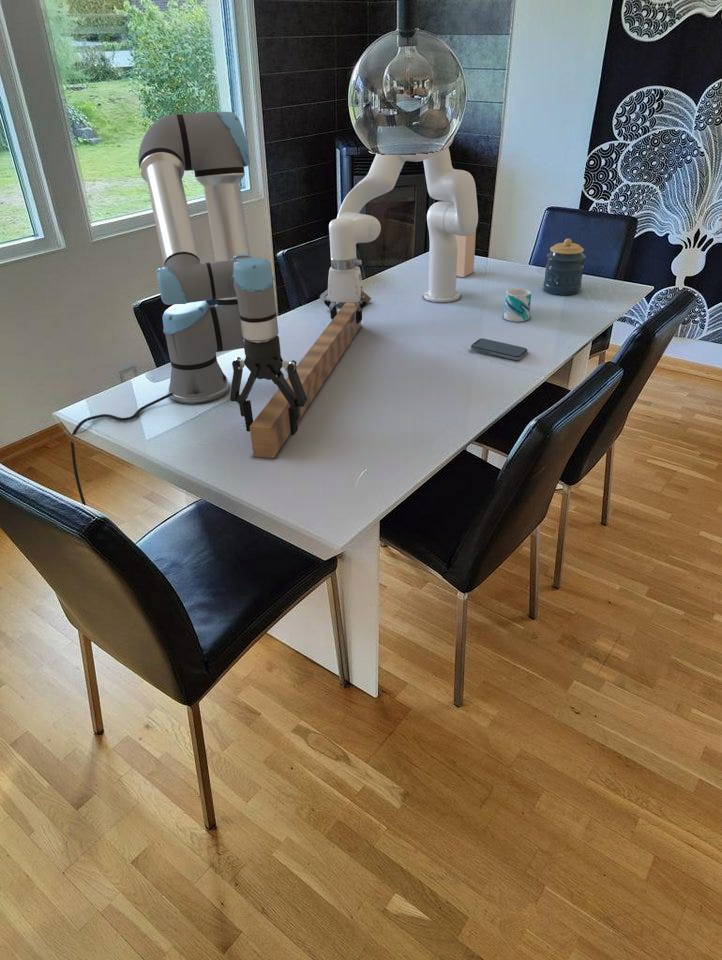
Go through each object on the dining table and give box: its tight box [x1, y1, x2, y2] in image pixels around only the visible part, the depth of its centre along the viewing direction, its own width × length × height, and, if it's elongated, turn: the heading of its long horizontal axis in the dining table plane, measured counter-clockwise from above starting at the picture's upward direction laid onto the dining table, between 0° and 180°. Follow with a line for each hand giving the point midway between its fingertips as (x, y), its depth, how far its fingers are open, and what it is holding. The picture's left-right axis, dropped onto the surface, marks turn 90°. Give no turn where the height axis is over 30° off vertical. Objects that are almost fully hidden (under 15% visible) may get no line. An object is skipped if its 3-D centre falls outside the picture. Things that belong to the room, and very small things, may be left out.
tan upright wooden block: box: [455, 229, 477, 278], centre depth 256 cm, size 13×9×22 cm
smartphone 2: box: [470, 337, 528, 361], centre depth 193 cm, size 8×2×15 cm
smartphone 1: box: [327, 297, 370, 313], centre depth 231 cm, size 8×1×15 cm
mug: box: [503, 287, 532, 323], centre depth 216 cm, size 8×12×8 cm
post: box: [249, 303, 362, 459], centre depth 180 cm, size 84×5×8 cm, turn 167°
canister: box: [543, 238, 586, 296], centre depth 234 cm, size 13×13×18 cm
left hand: (272, 430), depth 152 cm, fingers open, 10 cm apart
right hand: (346, 321), depth 207 cm, fingers open, 7 cm apart
